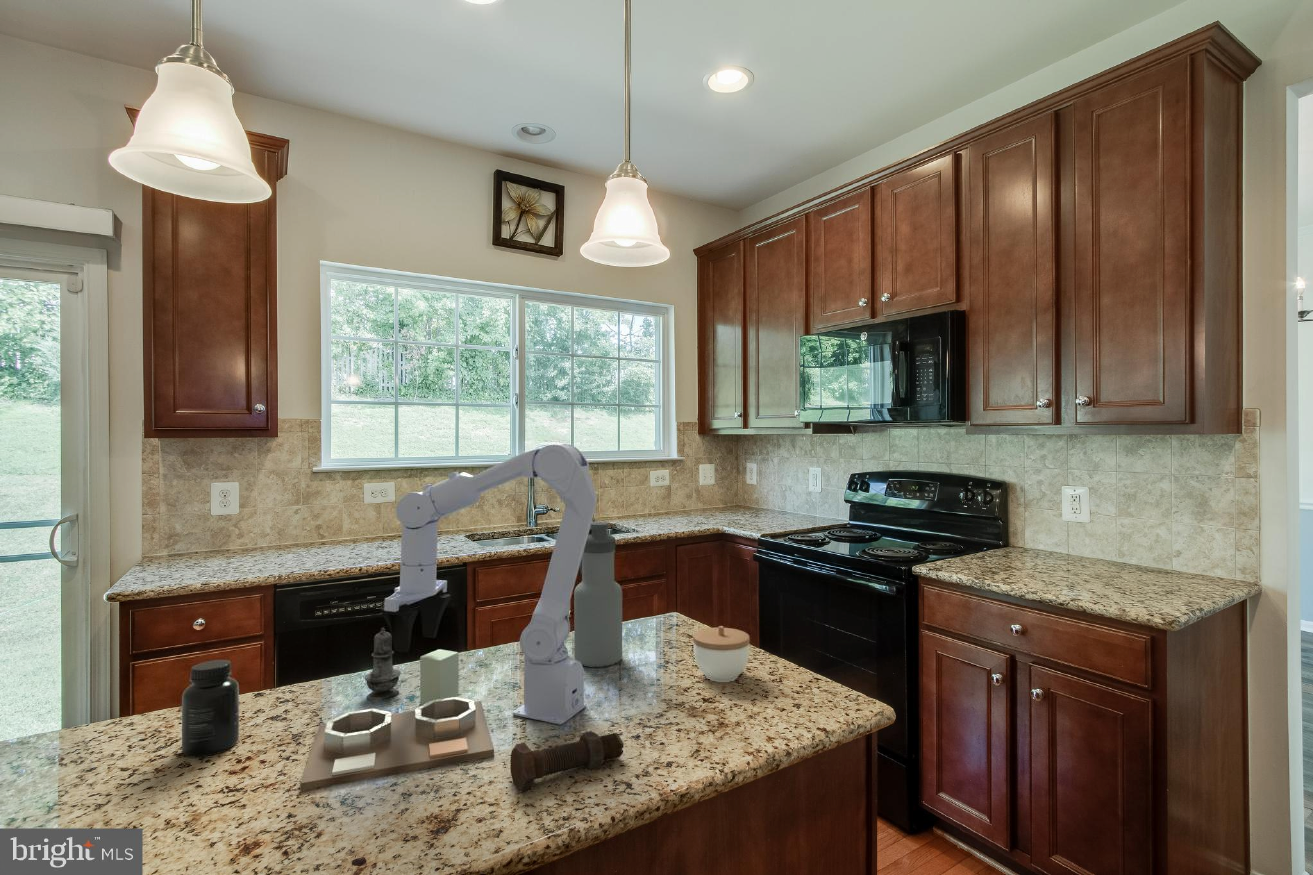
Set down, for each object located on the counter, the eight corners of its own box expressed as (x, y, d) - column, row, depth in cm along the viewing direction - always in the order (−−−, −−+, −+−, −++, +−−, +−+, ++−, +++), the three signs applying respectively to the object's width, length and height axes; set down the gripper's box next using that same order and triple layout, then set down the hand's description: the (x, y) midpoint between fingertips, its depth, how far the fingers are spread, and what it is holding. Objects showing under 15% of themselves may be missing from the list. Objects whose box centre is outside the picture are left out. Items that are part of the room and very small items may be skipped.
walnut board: (480, 706, 105) (480, 700, 105) (494, 756, 89) (494, 749, 89) (319, 731, 97) (319, 724, 97) (300, 790, 80) (300, 783, 80)
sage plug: (458, 698, 109) (458, 652, 109) (440, 708, 105) (440, 660, 105) (438, 694, 111) (438, 649, 111) (420, 704, 107) (420, 656, 107)
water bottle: (571, 653, 132) (571, 520, 133) (617, 649, 135) (617, 519, 135) (577, 670, 122) (576, 526, 123) (626, 666, 125) (626, 524, 125)
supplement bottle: (249, 740, 94) (250, 659, 94) (203, 762, 87) (204, 675, 88) (217, 733, 96) (217, 654, 96) (169, 754, 90) (170, 669, 90)
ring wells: (472, 709, 102) (472, 694, 102) (477, 732, 94) (477, 715, 94) (329, 731, 94) (329, 714, 94) (322, 757, 86) (322, 739, 86)
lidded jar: (682, 680, 117) (682, 629, 117) (709, 663, 126) (708, 616, 126) (735, 691, 112) (735, 638, 112) (758, 672, 121) (758, 623, 121)
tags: (465, 740, 91) (465, 737, 91) (467, 751, 88) (467, 748, 88) (335, 762, 85) (335, 759, 85) (332, 775, 82) (332, 772, 82)
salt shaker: (387, 703, 107) (387, 632, 107) (356, 700, 108) (357, 630, 108) (407, 690, 113) (407, 623, 113) (378, 687, 114) (378, 621, 114)
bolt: (621, 773, 88) (517, 802, 80) (607, 743, 92) (507, 767, 84) (632, 745, 85) (526, 771, 78) (617, 715, 89) (515, 737, 81)
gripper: (423, 554, 114) (421, 629, 114) (369, 569, 100) (366, 654, 100) (458, 557, 112) (455, 633, 112) (407, 572, 98) (405, 659, 98)
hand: (416, 643), depth 106 cm, fingers open, 7 cm apart
